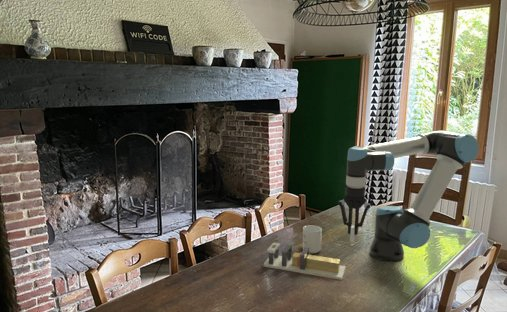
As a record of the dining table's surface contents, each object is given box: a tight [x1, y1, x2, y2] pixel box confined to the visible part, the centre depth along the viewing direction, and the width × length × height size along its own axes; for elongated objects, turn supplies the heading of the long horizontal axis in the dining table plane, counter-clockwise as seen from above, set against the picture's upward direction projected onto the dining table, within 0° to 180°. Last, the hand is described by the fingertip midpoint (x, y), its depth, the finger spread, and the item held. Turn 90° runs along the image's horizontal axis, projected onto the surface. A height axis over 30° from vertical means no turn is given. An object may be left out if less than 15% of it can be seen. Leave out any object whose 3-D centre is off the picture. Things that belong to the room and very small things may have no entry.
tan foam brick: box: [291, 251, 341, 273], centre depth 168 cm, size 20×4×4 cm, turn 69°
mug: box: [302, 224, 323, 255], centre depth 189 cm, size 12×9×11 cm
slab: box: [263, 255, 347, 281], centre depth 170 cm, size 34×11×1 cm, turn 69°
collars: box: [266, 242, 310, 270], centre depth 172 cm, size 17×8×6 cm, turn 69°
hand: (352, 241), depth 161 cm, fingers closed
